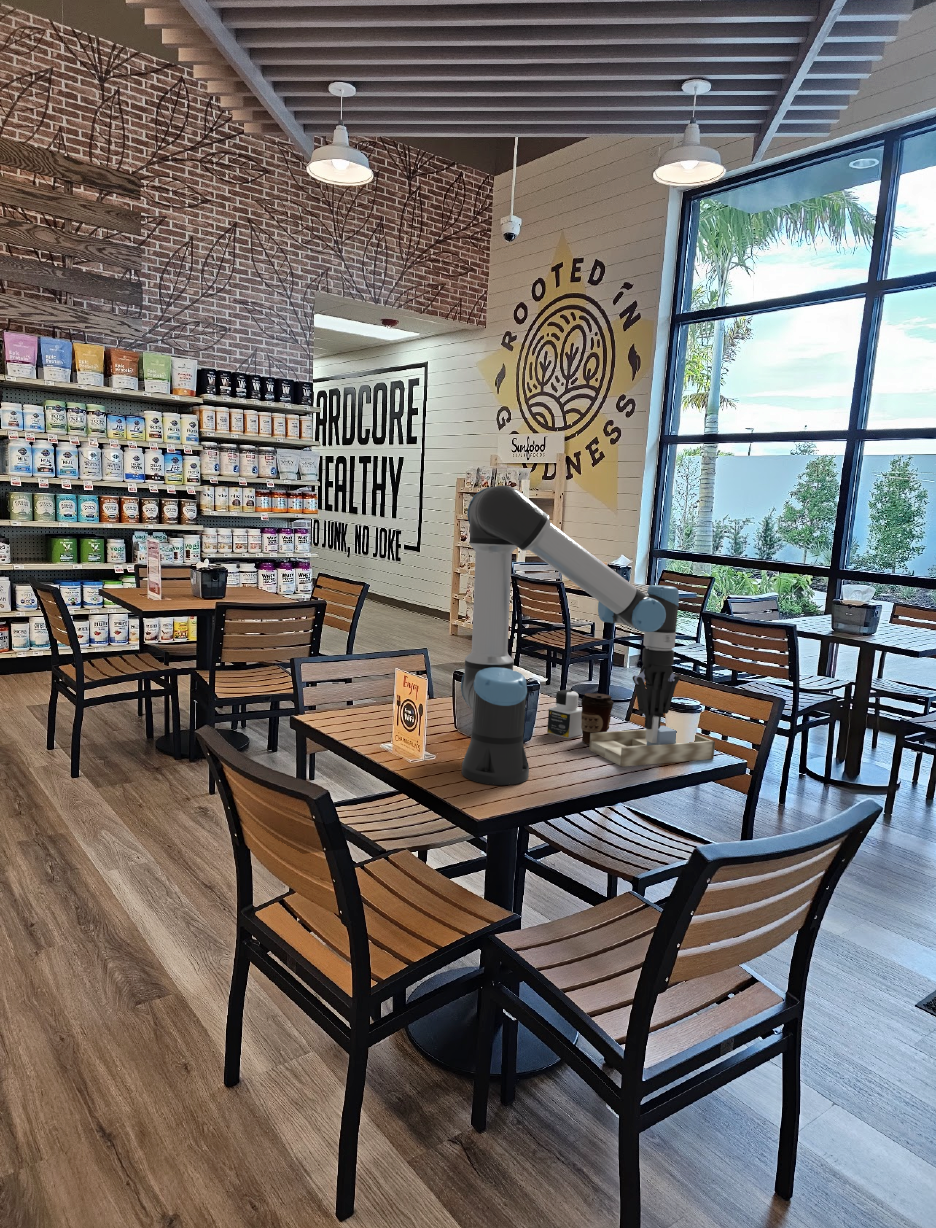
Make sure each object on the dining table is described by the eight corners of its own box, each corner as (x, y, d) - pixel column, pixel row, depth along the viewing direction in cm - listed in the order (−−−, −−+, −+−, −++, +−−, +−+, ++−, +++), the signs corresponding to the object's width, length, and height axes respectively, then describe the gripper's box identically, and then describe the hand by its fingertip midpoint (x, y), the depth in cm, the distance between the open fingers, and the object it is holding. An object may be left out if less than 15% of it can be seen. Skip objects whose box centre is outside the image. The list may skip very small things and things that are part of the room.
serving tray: (622, 766, 190) (623, 748, 190) (589, 750, 204) (590, 732, 203) (713, 758, 202) (715, 741, 201) (676, 743, 215) (678, 727, 214)
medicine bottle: (546, 733, 218) (549, 690, 217) (561, 729, 223) (564, 687, 222) (568, 739, 213) (571, 695, 212) (582, 734, 219) (585, 692, 217)
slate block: (658, 751, 196) (660, 731, 196) (646, 745, 201) (648, 726, 200) (675, 750, 199) (676, 730, 198) (662, 744, 203) (664, 725, 203)
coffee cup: (600, 749, 205) (603, 700, 203) (572, 742, 210) (575, 694, 208) (615, 743, 212) (619, 695, 210) (587, 737, 216) (591, 690, 215)
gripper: (646, 651, 190) (638, 747, 192) (689, 650, 195) (681, 743, 197) (628, 646, 196) (620, 739, 199) (670, 645, 202) (662, 736, 204)
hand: (651, 741), depth 198 cm, fingers closed
